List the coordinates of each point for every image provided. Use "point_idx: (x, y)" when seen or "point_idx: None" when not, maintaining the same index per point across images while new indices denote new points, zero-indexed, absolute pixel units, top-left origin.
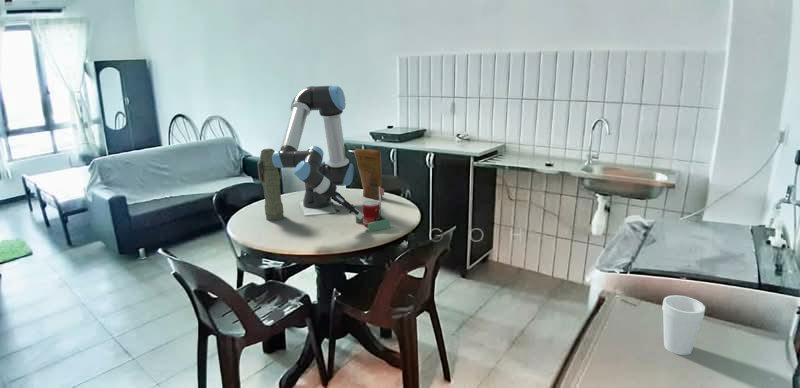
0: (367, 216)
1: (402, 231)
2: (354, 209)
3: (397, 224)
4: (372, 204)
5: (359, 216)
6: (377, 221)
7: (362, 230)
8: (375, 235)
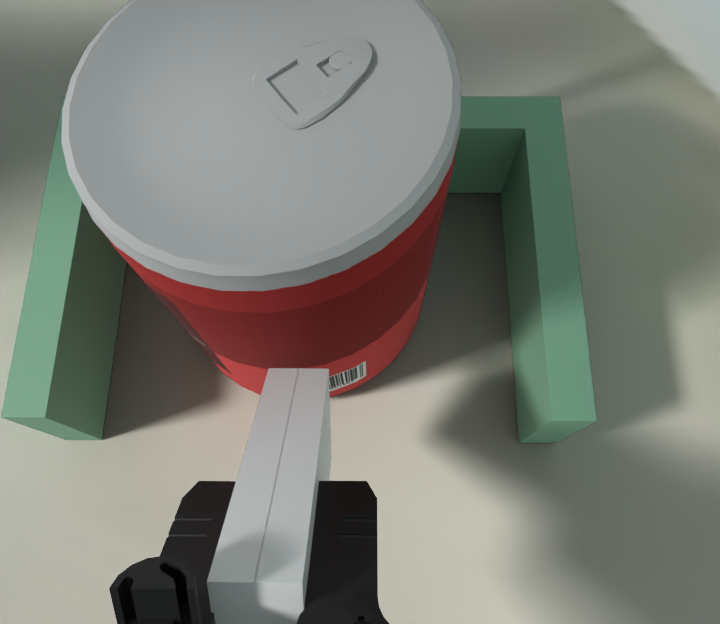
0: (378, 332)
1: (713, 103)
2: (381, 615)
3: (463, 54)
4: (354, 104)
5: (325, 469)
6: (553, 260)
7: (440, 498)
8: (717, 424)
